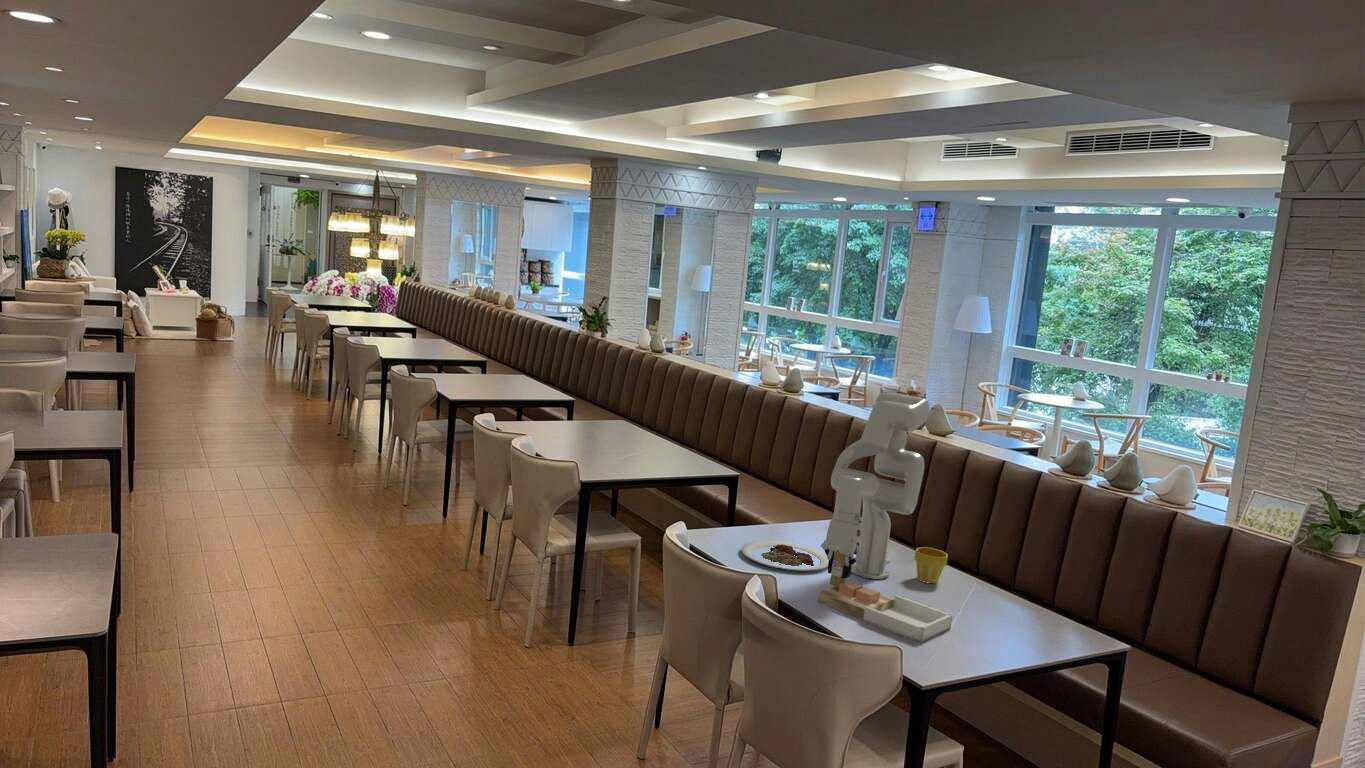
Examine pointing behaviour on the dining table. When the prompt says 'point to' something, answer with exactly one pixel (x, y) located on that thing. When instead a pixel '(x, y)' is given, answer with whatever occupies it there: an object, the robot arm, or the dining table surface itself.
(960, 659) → the dining table surface
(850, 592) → the rear tile
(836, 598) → the grooved oak block
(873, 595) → the front tile
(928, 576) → the plant pot
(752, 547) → the plated food
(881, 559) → the robot arm
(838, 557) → the sprinkles bottle
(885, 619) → the box
